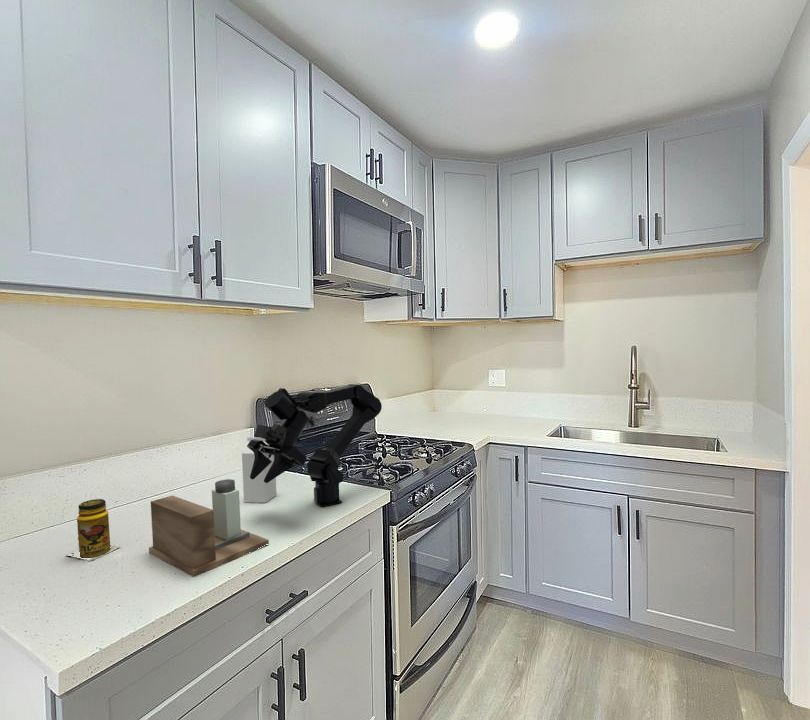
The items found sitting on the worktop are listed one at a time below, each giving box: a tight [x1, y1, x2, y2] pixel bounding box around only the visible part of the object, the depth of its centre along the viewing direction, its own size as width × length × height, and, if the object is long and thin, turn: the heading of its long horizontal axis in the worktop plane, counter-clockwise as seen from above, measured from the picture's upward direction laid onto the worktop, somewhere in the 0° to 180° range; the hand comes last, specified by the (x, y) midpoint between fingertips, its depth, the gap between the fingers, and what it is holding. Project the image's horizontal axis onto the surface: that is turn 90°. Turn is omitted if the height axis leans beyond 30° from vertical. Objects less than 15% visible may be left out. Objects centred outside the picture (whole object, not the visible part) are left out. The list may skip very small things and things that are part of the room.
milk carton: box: [241, 436, 278, 504], centre depth 144 cm, size 7×7×19 cm
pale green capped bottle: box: [211, 478, 242, 540], centre depth 113 cm, size 4×6×13 cm
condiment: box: [70, 498, 120, 562], centre depth 110 cm, size 7×8×12 cm
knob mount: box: [148, 494, 270, 577], centre depth 109 cm, size 18×20×12 cm
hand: (258, 480), depth 120 cm, fingers open, 6 cm apart
